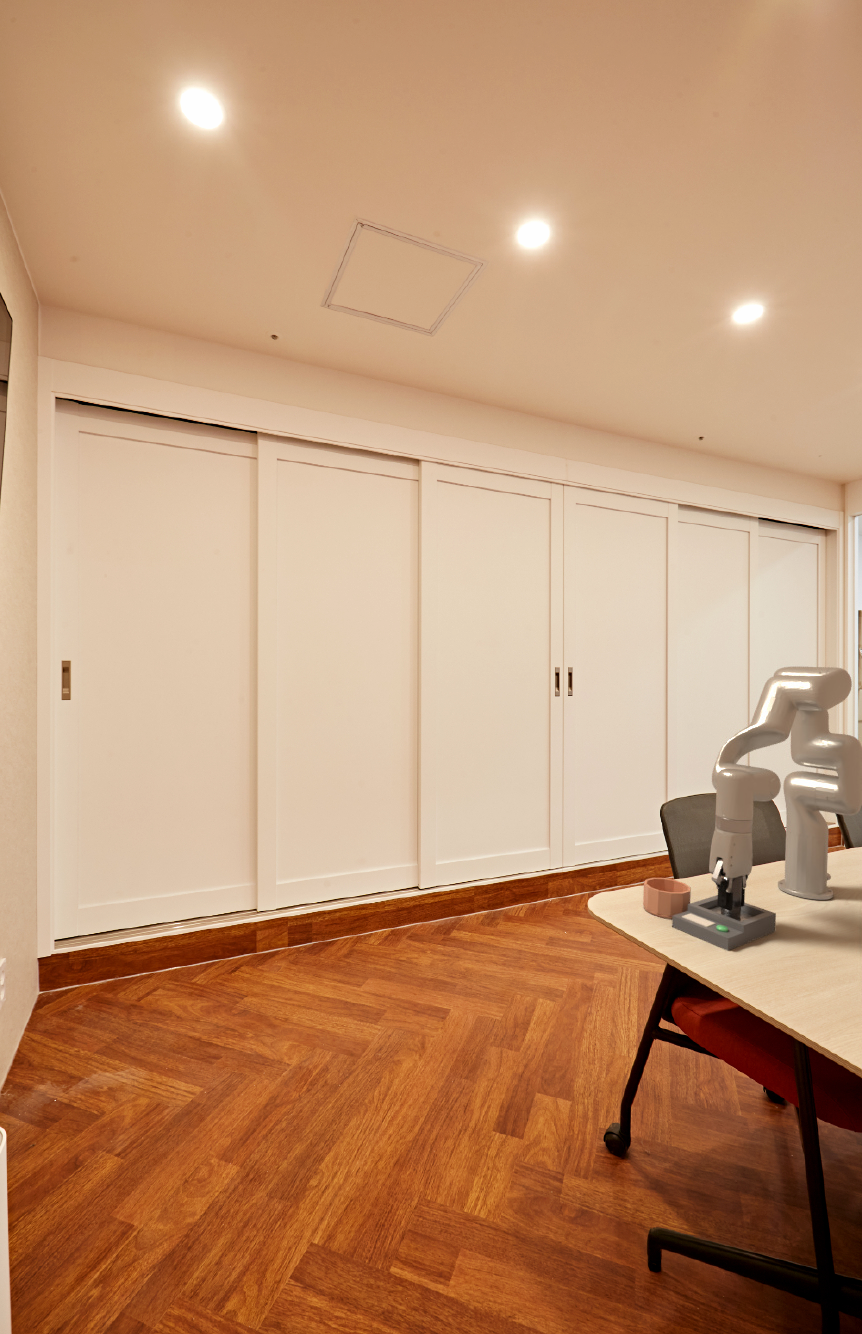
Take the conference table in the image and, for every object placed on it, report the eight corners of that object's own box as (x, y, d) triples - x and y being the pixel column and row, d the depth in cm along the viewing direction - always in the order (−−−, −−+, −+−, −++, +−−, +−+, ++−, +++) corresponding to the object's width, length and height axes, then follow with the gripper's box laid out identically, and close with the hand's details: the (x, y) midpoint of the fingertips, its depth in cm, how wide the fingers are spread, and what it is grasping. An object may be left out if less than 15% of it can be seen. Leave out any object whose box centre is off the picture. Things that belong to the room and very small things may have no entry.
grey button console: (719, 910, 147) (720, 894, 147) (775, 931, 136) (775, 913, 136) (672, 926, 137) (672, 908, 137) (727, 950, 126) (728, 930, 126)
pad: (723, 909, 144) (723, 904, 144) (762, 923, 137) (762, 919, 137) (699, 916, 139) (700, 912, 139) (739, 932, 132) (739, 927, 132)
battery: (727, 911, 141) (728, 867, 141) (744, 917, 137) (745, 872, 137) (717, 914, 138) (718, 870, 138) (734, 921, 135) (735, 875, 135)
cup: (661, 899, 153) (662, 875, 153) (698, 913, 145) (699, 888, 145) (634, 907, 147) (635, 882, 147) (672, 922, 139) (672, 896, 139)
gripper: (738, 817, 146) (735, 894, 146) (696, 825, 136) (693, 907, 136) (770, 824, 139) (767, 905, 139) (728, 833, 130) (725, 919, 130)
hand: (730, 905), depth 138 cm, fingers closed on battery, 4 cm apart
